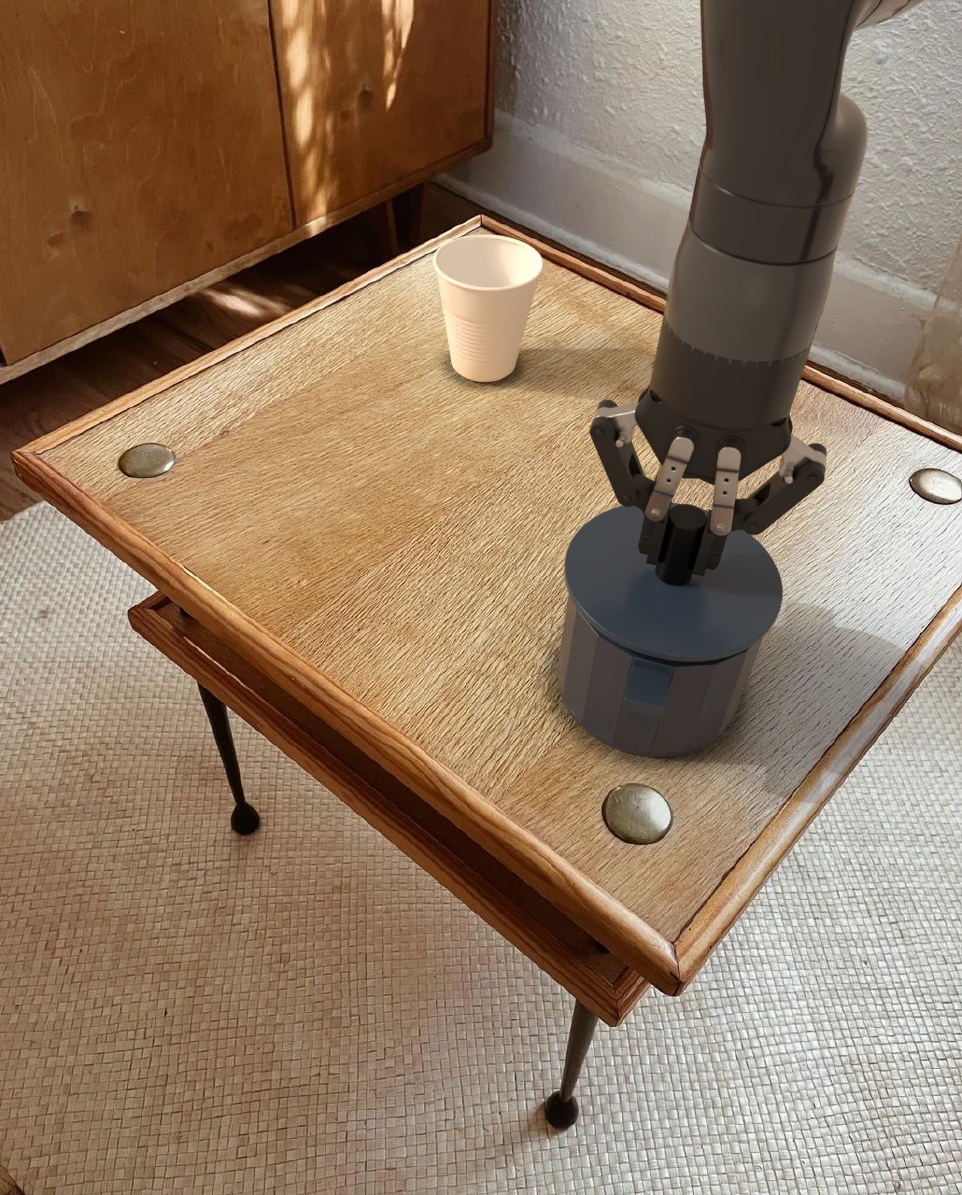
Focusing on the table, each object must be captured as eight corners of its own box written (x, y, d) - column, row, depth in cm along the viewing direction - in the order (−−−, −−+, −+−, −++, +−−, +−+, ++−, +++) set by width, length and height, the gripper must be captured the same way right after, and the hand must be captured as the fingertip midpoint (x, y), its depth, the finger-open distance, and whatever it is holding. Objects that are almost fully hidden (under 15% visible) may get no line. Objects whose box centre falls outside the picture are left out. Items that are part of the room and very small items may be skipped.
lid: (786, 539, 69) (811, 471, 65) (768, 692, 60) (795, 624, 55) (587, 495, 71) (598, 426, 67) (540, 636, 62) (549, 566, 58)
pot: (749, 615, 78) (781, 523, 71) (719, 812, 66) (754, 723, 59) (586, 577, 80) (602, 483, 73) (529, 761, 68) (541, 669, 61)
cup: (551, 385, 97) (562, 279, 89) (453, 404, 95) (456, 297, 87) (510, 330, 104) (518, 227, 96) (417, 347, 101) (417, 242, 93)
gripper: (589, 325, 50) (554, 576, 62) (881, 382, 48) (784, 630, 60) (618, 254, 55) (580, 499, 67) (883, 302, 53) (793, 546, 65)
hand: (677, 560), depth 64 cm, fingers closed on lid, 2 cm apart
